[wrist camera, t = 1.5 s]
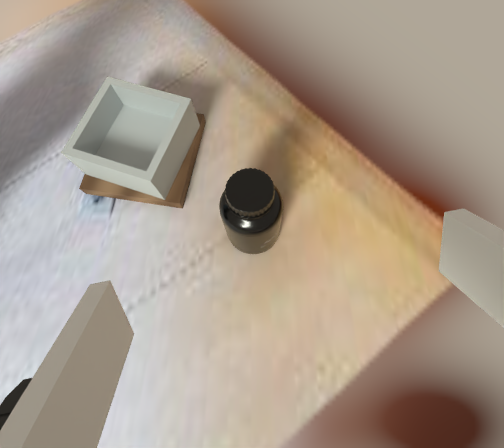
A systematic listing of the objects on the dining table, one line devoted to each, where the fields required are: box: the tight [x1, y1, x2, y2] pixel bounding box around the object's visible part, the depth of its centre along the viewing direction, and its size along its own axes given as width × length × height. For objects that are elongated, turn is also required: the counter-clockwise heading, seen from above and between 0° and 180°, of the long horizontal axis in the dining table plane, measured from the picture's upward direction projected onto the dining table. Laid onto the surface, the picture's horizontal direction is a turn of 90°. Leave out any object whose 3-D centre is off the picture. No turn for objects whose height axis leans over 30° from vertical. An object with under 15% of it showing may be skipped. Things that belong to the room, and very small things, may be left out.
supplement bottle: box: [219, 168, 283, 254], centre depth 36 cm, size 7×7×12 cm
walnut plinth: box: [79, 114, 205, 208], centre depth 45 cm, size 14×14×2 cm
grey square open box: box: [61, 76, 200, 200], centre depth 41 cm, size 12×12×6 cm
